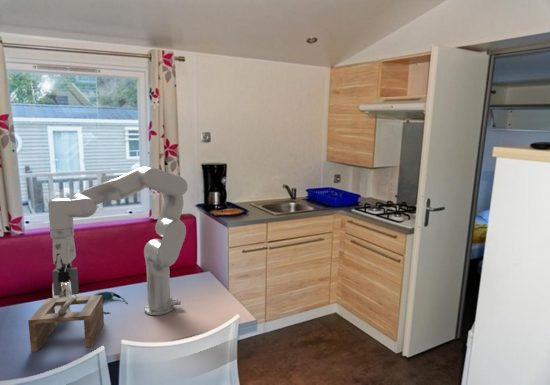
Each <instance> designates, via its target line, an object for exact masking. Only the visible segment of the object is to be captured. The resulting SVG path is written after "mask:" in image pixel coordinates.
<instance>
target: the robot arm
mask: <svg viewBox="0 0 550 385" xmlns="http://www.w3.org/2000/svg"><path fill="white" fill-rule="evenodd" d="M144 189H150V190H153V191H156V192H158V193H161V194H162V197H163V205H162V206H161V210H160V212H159V216H158V219H157V221H156V223H155V227H154V230H155V232H156V234H157V235H158V236H160V237H161V239H159V238H153V239H150V240H148V242H146V244H145V245H144V248H143V256H144V260H145V261H144V262H145V266H146V267H145V268H146V288H147V289H146V290H147V304H146V305H145V306H144V313H145V314H147V315H150V316H162V315H166V314H168V313H170V312H172V311H173V310H174V309H175V306H180V305H182V302H181V300H179V298H172V295H171V279H170V267H171V266H172V265H174V264H175V263H176V261H178V260H177V259H178V258H179V256H180V252H181V250H182V247H183V243H184V242H185V238H186V235H187V228H186V224H185V223H184V222H183V221H182V220H181V215H182V212H183V208H184V197H183V196H184V195H185V194H186V192H187V191H188V183H187V180H185V178H183V177H181V176H178V175H176V174H172V173H169V172H167V171H164V170H161V169H159V168H156V167H151V166H141V167H138V168H136V169H134V170H132V171H129V172H128V173H125V174H123V175H120V176H119V177H116V178H114V179H111V180H108V181H105V182H102V183H99V184H97V185H93V186H91V187H89V188H86V189H84V190H82V191H79V192H77V193H75V194H74V195H73V196H71V197H70V198H66V197H59V198H53V199H50V200H49V201H48V202H47V209H48V221H49V222H48V223H49V232H50V233H49V234H50V238H51V239H52V260H53V265H55V266H56V267H55V269H58V276H59V282H68V281H69V280H70V279H71V277H69V276H68V271H67V268H73V267H72V262H73V261H74V259H75V258H76V257H77V252H76V250H77V249H76V244H75V238H74V237H75V233H74V232H75V228H74V218H89V217H92V216H93V215H94V214H96V212H97V210H98V205H99V204H103V203H105V202H111V201H120V200H124V199H126V198H128V197H130V196H132V195H134V194H136V193H139V192H141V191H143V190H144Z"/></svg>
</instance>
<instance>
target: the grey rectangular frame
mask: <svg viewBox="0 0 550 385" xmlns="http://www.w3.org/2000/svg"><path fill="white" fill-rule="evenodd" d="M67 271H68V276H69V277H71V278H70V283H71V291H72V295H74V294H75V295H77V294H78V293H79V291H80V289H79V288H80V287H79V275H78V274H79V272H78V267H77V266H76V267H70V268H67ZM52 287H54V296H57V295H60V294H61V292H62V288H61V282H59V276H58V269H56V268H54V269H53V270H52Z"/></svg>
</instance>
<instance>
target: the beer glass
mask: <svg viewBox="0 0 550 385" xmlns="http://www.w3.org/2000/svg"><path fill="white" fill-rule="evenodd" d="M61 288H62V292H61V294H60V295H57V296H54V287H53V286H52V288H51V292H52V298H63V297H70V296H71V295H72V291H71V279H69V281H68V282H61ZM62 306H63V305H60V306H55V313H58V311H59V310H60V309H61V308H62ZM67 312H73V311H72V307H71V305H70V306H69V308H68V309H67V310H66V312H65V313H67Z"/></svg>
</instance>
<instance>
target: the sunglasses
mask: <svg viewBox="0 0 550 385" xmlns="http://www.w3.org/2000/svg"><path fill="white" fill-rule="evenodd" d="M95 295H102V299H103V301H106V300H112V299H113V298H114V297H115V298H117V299H122V300H123V301H124V302H125V303H126V304H127V305H129V303H128V302H127V300H126V299H125V298H124V296H121V295H119V294H117V293H115V292H113V291H110V290H108V291H107V290H106V291H98V292H96V293H94V294H93V295H91V296H95ZM103 314H110V312H109V311H104V310H103Z"/></svg>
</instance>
